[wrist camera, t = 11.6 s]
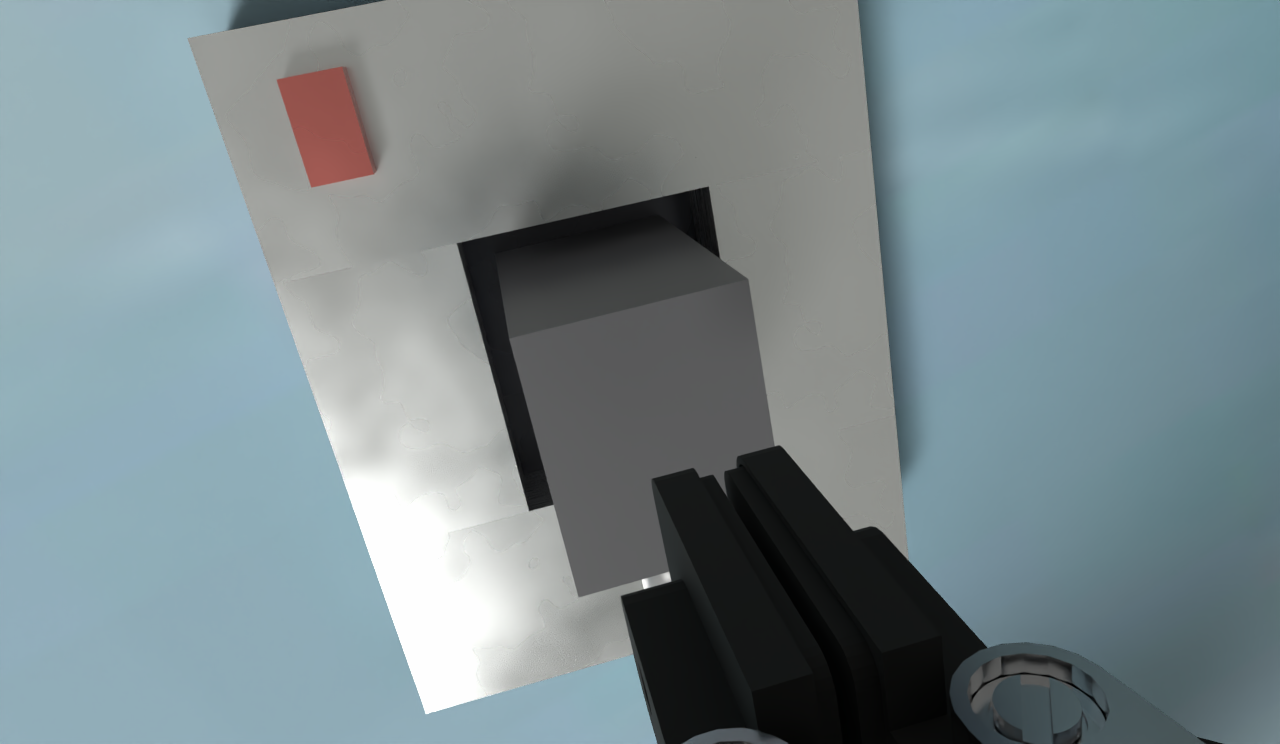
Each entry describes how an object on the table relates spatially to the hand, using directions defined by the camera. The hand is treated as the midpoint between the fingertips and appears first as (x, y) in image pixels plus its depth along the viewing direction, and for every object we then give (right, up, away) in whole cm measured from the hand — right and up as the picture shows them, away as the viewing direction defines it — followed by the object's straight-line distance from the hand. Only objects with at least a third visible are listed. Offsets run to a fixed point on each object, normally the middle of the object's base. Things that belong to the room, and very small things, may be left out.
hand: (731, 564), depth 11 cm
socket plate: (-2, +4, +11) cm, 12 cm away
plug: (-2, +3, +10) cm, 11 cm away
